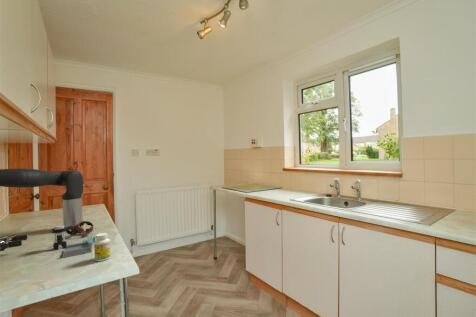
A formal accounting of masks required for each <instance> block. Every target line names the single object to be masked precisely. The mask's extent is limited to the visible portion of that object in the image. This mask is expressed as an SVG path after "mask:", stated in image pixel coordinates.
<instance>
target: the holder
mask: <svg viewBox="0 0 476 317" xmlns="http://www.w3.org/2000/svg"><path fill="white" fill-rule="evenodd" d="M88 237H89V243H88V242H83V241H82V242H76V243H71V244H67V245H66V248H64V250H63V253H62V257H61V258H62V259H64V258H69V257H74V256H79V255H84V254H90V253H92V252H93V245H92V239H93V236H88Z"/></svg>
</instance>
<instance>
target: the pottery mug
mask: <svg viewBox="0 0 476 317" xmlns="http://www.w3.org/2000/svg"><path fill="white" fill-rule="evenodd" d="M85 225H86V226H90V227H89V228H85V229H84V226H85ZM81 226H83V227H82V228H81ZM69 229H71V231H69ZM93 230H94V224H93V223H92V222H90V221H88V220H83V221H81V222H79V223H78V224H77V225H75V226H68V227H67V228H66V231H65V233H66V234H67V235H70V236H71V237H74V236H75V235H77V234H81V236H80V237H81V238H86V236H87V235H90V234H91V233H92V232H93Z"/></svg>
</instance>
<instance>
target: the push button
mask: <svg viewBox="0 0 476 317" xmlns="http://www.w3.org/2000/svg"><path fill="white" fill-rule="evenodd" d="M66 228H67V227H64V225H63V224H59V225H55V226H54V227H53V228H52V229H51V232H52V234H54V241H53V245H52V246H48V251H50V250H53V251H57V250H61V249H65V248H66V245H68V243H67V240H66V238H65V236H66V235H65V233H66Z"/></svg>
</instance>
